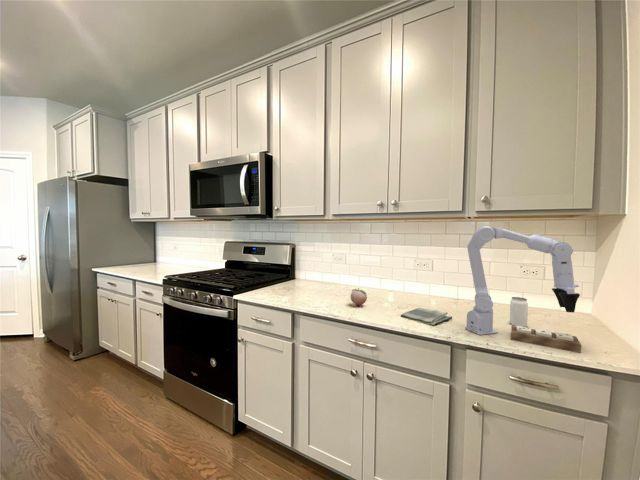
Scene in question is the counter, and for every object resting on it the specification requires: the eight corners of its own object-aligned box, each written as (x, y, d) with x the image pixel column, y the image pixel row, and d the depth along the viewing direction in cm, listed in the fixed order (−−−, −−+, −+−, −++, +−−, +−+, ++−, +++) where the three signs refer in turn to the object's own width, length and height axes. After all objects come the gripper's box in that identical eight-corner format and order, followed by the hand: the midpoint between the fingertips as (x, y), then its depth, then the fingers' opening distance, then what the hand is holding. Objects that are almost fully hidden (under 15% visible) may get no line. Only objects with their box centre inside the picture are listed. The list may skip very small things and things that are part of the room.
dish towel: (399, 317, 136) (399, 311, 136) (418, 311, 148) (419, 305, 148) (435, 328, 122) (435, 321, 122) (454, 320, 133) (454, 313, 133)
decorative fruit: (347, 306, 153) (347, 288, 153) (352, 303, 160) (353, 286, 160) (364, 309, 149) (364, 290, 148) (368, 305, 156) (369, 287, 156)
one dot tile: (535, 339, 106) (536, 331, 106) (535, 336, 110) (535, 328, 109) (551, 342, 103) (551, 334, 103) (550, 338, 107) (550, 330, 107)
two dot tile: (556, 343, 102) (556, 335, 102) (554, 339, 106) (555, 331, 106) (573, 346, 100) (573, 338, 100) (570, 342, 104) (571, 334, 103)
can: (510, 321, 130) (511, 296, 130) (527, 324, 126) (528, 298, 126) (508, 325, 125) (509, 298, 125) (526, 328, 121) (527, 301, 121)
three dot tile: (516, 336, 109) (516, 328, 109) (516, 332, 113) (516, 325, 113) (531, 339, 107) (531, 331, 106) (530, 335, 110) (530, 327, 110)
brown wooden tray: (511, 339, 108) (511, 332, 108) (511, 332, 116) (511, 325, 116) (580, 352, 97) (581, 344, 97) (575, 344, 104) (576, 336, 104)
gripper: (584, 275, 97) (588, 314, 96) (570, 270, 109) (574, 305, 109) (558, 276, 100) (562, 314, 100) (547, 271, 113) (551, 304, 113)
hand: (566, 309), depth 105 cm, fingers open, 7 cm apart
